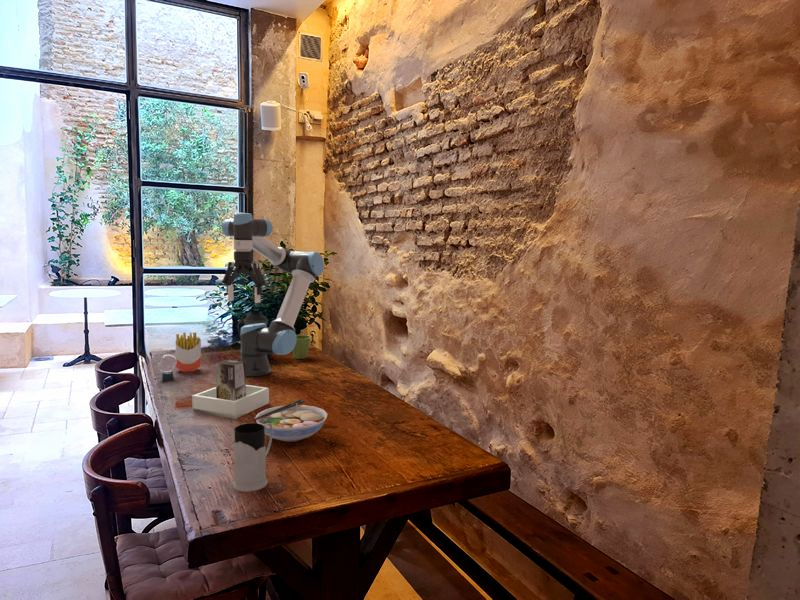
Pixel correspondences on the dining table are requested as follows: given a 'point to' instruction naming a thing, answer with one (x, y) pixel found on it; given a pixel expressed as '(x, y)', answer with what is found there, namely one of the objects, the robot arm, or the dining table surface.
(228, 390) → the coffee box
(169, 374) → the watch
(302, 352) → the plant pot
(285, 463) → the dining table surface
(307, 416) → the ramen bowl
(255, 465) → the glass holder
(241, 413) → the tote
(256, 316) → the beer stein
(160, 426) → the dining table surface
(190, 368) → the french fries container
